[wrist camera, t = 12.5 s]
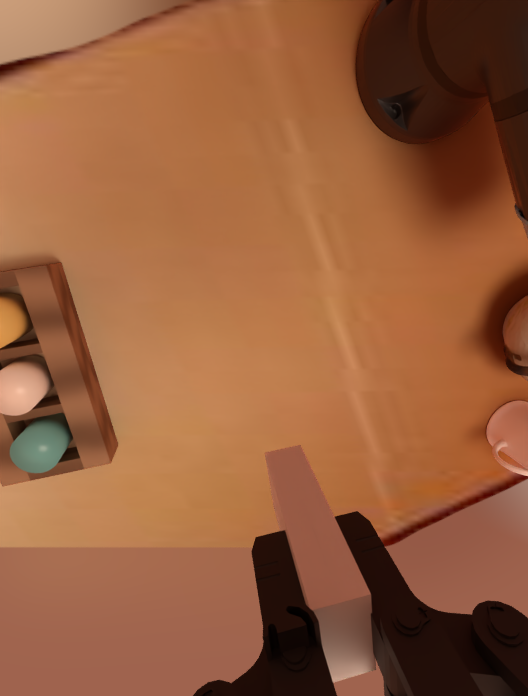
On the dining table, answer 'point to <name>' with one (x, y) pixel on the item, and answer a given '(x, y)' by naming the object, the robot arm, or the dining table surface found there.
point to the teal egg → (41, 443)
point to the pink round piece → (24, 384)
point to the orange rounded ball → (13, 318)
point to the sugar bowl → (517, 338)
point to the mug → (510, 434)
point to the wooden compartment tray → (56, 375)
